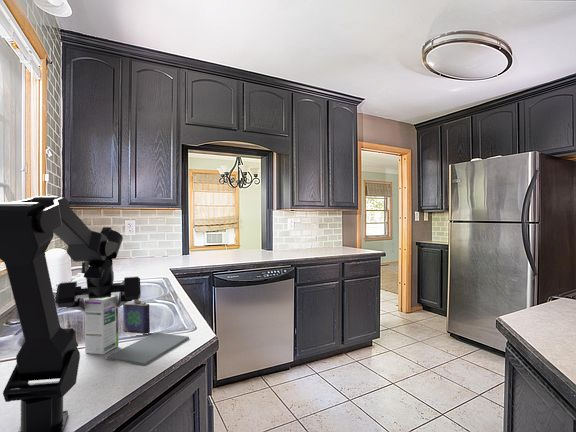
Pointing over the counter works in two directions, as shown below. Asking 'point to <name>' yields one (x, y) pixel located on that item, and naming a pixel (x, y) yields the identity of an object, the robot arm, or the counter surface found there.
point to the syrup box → (101, 324)
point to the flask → (136, 317)
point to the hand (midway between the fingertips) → (102, 307)
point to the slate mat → (148, 348)
